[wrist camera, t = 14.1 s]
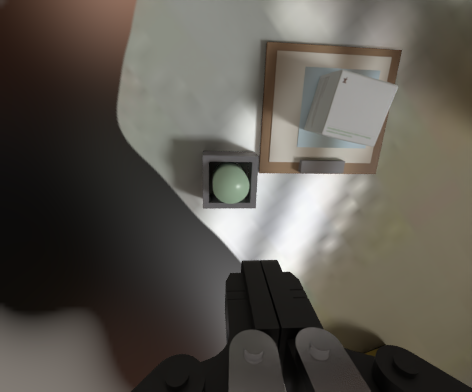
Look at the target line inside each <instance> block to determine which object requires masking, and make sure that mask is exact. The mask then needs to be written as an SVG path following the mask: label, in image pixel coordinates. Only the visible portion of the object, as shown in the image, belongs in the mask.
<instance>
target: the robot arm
mask: <svg viewBox="0 0 472 392" xmlns="http://www.w3.org/2000/svg"><path fill="white" fill-rule="evenodd" d="M225 297H226V298H225V319H226V338H227V345H226V346H225V348H224V349H223V350H222V351H221V352H220V353H219V354H218V355H216V356H215V357H212V358H210V359H208V360H205V361H203V362H199V361H198V360H197V359H196V358H194V357H193V356H190V355H186V354H179V355H174V356H171V357H169V358H167V359H165V360H164V361H162V362H161V363H160V364H159V365H158V366H157V367H156V368H155V369H154V370H153V371H152V372H151V373H150V374H149V375H147V376H146V378H144V379H143V380H142V381H141V382H140V383H139V384H138V385H137V387H135V388H134V389H133V390H132V391H131V392H285V387H286V391H287V392H472V388H471V387H469V386H467V385H466V384H464V383H462V382H460V381H459V380H457V379H455V378H454V377H452V376H450V375H449V374H447V373H445V372H444V371H442V370H440V369H439V368H437V367H435V366H433V365H432V364H430V363H428V362H427V361H425V360H423V359H422V358H420V357H418V356H417V355H415V354H413V353H412V352H410V351H408V350H406V349H403V348H401V347H398V346H393V345H385V346H382V347H380V348H379V349H378V350H377V352H376V355H375V356H372V355H367V354H363V353H359V352H355V351H352V350H349V349H346V348H344V347H343V346H342V344H341V343H340V341H339V340H338V339H337V338H336V337H335V336H334V335H332V334H331V333H329V332H328V331H326V330H324V329H323V327H322V325H321V323H320V321H319V319H318V317H317V315H316V313H315V311H314V309H313V307H312V305H311V303H310V301H309V299H308V298H307V295H306V293H305V291H304V290H303V287H302V285H301V283H300V281H299V279H298V278H296V277H295V276H294V275H293V274H292V273H291V272H282V270H281V267H280V265H279V263H278V261H277V260H260V261H259V260H252V261H242V263H241V273H230V275H229V277H228V279H227V280H226V295H225ZM284 384H285V386H284Z"/></svg>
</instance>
